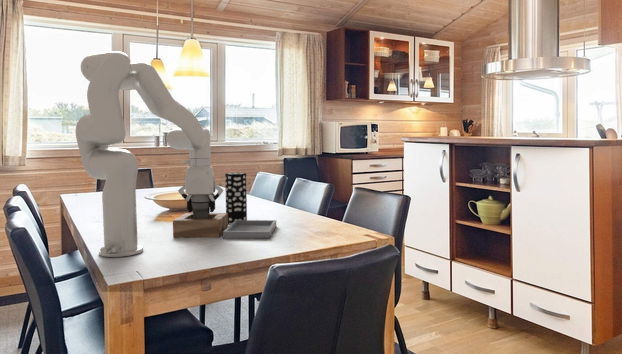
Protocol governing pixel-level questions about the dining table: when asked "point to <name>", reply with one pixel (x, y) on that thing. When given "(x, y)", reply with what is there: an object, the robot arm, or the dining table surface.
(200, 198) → the beverage cup
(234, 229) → the slate tray
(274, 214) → the dining table surface
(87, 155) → the robot arm
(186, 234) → the walnut sleeve
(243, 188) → the spotted tube
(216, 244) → the dining table surface
